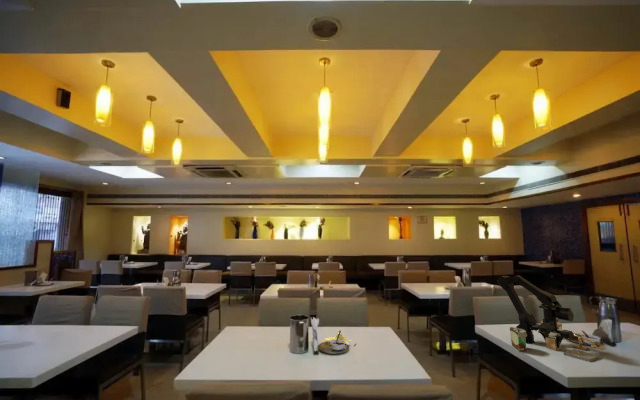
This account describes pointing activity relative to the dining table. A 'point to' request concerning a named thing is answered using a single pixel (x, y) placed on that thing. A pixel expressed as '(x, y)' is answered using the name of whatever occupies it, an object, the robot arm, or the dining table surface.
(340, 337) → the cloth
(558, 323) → the lidded jar
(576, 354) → the grey stone square slab
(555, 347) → the oak block
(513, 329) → the food container
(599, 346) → the brass balance
